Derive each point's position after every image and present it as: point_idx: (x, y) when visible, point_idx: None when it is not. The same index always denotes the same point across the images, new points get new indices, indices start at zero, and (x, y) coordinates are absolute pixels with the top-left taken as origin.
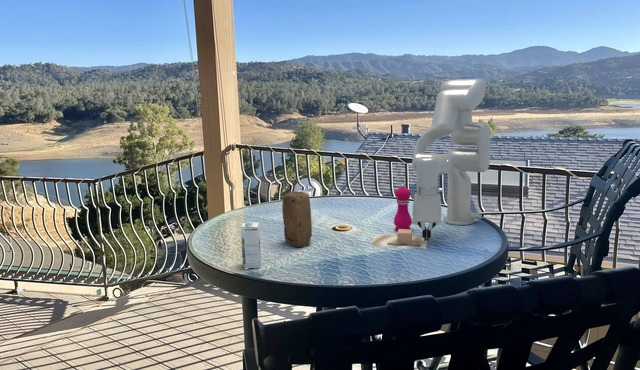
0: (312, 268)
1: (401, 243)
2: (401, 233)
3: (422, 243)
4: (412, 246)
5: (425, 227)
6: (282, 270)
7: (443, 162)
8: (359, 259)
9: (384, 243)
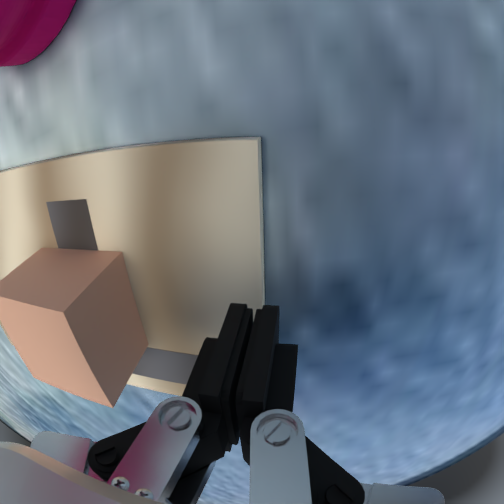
0: (35, 429)
1: None
2: (55, 383)
3: None
4: (173, 381)
5: (214, 452)
6: (13, 421)
7: None
8: (65, 421)
9: None
